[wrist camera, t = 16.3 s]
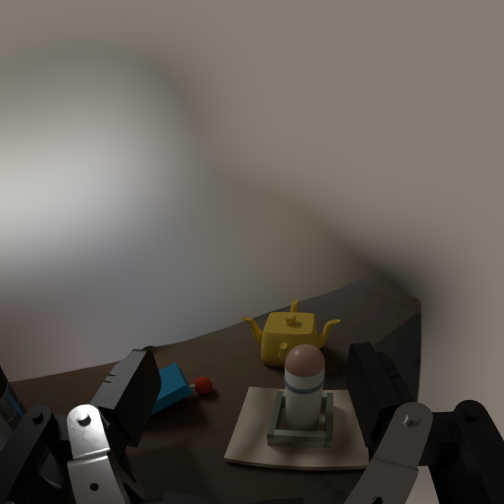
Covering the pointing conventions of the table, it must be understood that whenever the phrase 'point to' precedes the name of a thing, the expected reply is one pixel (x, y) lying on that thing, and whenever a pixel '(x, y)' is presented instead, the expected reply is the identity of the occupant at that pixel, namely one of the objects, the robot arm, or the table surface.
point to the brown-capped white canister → (304, 387)
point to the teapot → (287, 334)
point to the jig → (297, 434)
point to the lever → (177, 387)
